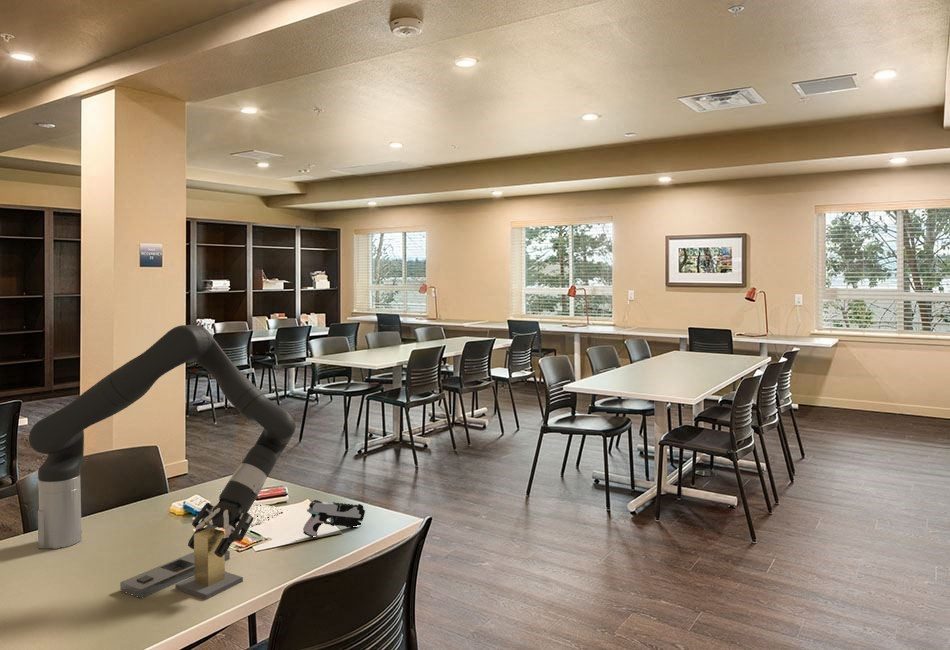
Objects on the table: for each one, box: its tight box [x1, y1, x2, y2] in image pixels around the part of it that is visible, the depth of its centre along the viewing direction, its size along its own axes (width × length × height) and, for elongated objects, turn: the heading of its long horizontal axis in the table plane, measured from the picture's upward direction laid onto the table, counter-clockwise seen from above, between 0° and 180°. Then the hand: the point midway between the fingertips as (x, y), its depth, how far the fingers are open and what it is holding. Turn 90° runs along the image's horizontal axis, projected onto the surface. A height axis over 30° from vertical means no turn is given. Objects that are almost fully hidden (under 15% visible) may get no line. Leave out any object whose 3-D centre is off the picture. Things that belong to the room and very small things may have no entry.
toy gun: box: [302, 499, 366, 538], centre depth 185 cm, size 2×17×10 cm, turn 128°
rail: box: [119, 550, 231, 599], centre depth 158 cm, size 24×7×2 cm, turn 152°
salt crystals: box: [191, 503, 283, 528], centre depth 197 cm, size 20×20×2 cm
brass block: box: [193, 528, 226, 587], centre depth 152 cm, size 4×4×11 cm
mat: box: [174, 571, 244, 600], centre depth 152 cm, size 10×10×1 cm
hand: (204, 551), depth 151 cm, fingers open, 8 cm apart
